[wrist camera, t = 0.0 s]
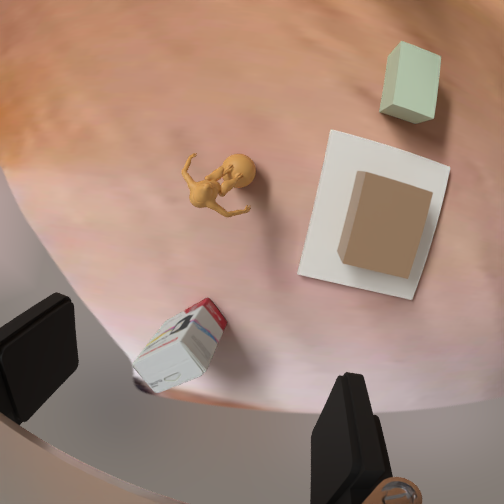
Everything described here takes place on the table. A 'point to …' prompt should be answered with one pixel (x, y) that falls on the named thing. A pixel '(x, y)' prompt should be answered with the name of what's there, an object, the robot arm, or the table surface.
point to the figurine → (234, 174)
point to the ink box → (181, 347)
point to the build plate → (337, 205)
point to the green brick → (411, 83)
